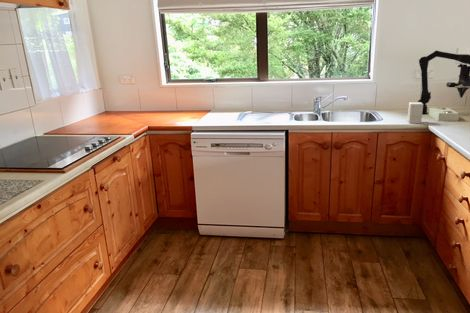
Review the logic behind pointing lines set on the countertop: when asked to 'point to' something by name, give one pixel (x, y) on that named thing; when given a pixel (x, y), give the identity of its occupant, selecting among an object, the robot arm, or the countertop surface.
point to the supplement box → (415, 112)
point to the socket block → (443, 114)
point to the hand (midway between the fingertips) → (461, 97)
